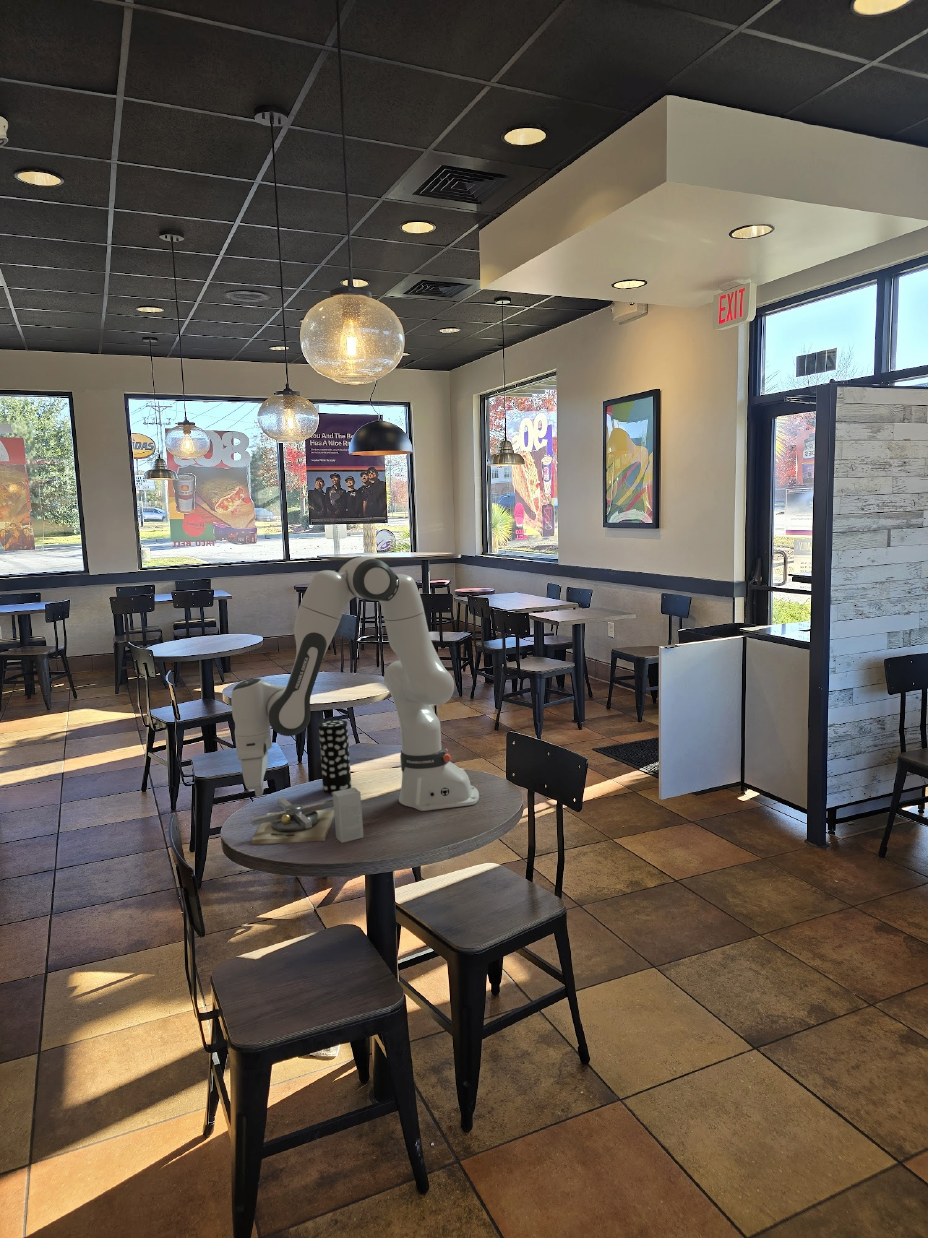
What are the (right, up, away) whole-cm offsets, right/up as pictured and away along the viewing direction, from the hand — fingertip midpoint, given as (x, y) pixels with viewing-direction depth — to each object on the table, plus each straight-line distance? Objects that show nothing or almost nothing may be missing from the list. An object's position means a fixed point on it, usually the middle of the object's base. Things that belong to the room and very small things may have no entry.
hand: (259, 794), depth 206 cm
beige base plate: (+9, -9, 0) cm, 13 cm away
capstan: (+9, -8, 0) cm, 12 cm away
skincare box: (+24, -10, -7) cm, 27 cm away
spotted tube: (+15, -5, +29) cm, 33 cm away
